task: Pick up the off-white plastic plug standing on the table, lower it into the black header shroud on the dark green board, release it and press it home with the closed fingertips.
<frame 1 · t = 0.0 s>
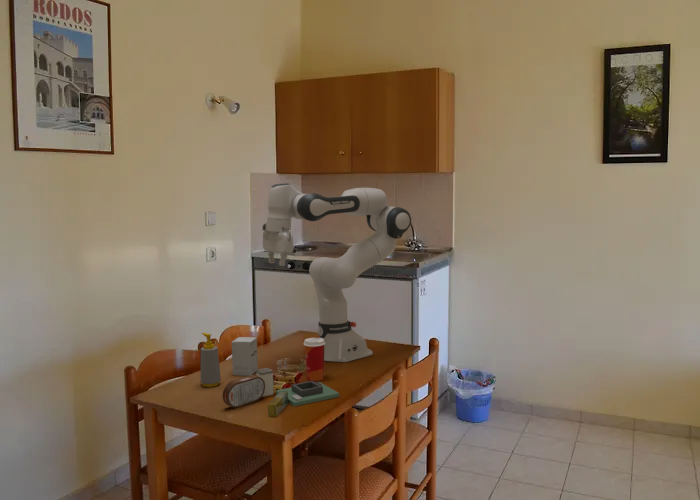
hand: (276, 264, 237), 39 cm above the table, tool pointing down, fingers open, 8 cm apart
plug: (265, 393, 211), on the table
tin: (245, 404, 202), on the table
medication box: (278, 410, 196), on the table
soap bottle: (210, 385, 222), on the table
paper cup: (315, 379, 225), on the table
board: (307, 395, 208), on the table
supplement box: (245, 373, 235), on the table
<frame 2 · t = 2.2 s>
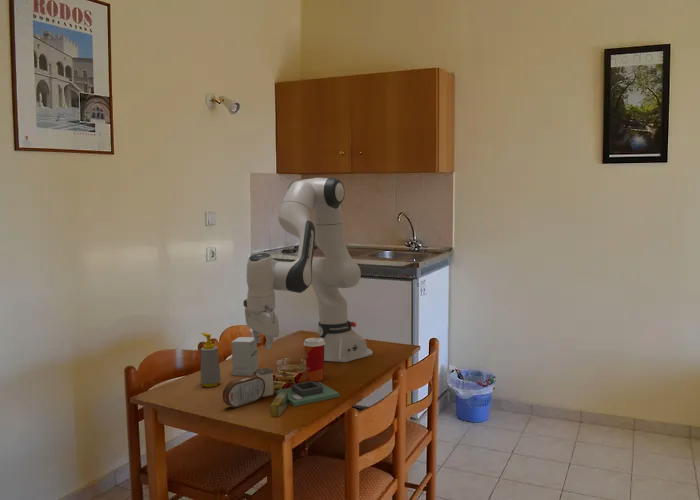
hand: (262, 345, 209), 16 cm above the table, tool pointing down, fingers open, 8 cm apart
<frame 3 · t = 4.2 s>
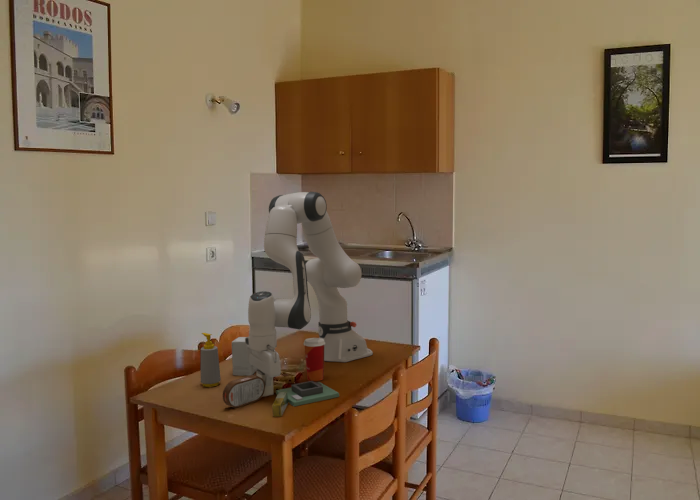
hand: (264, 383, 210), 4 cm above the table, tool pointing down, fingers closed on plug, 4 cm apart
plug: (265, 393, 211), on the table, touching gripper
everything else where it was.
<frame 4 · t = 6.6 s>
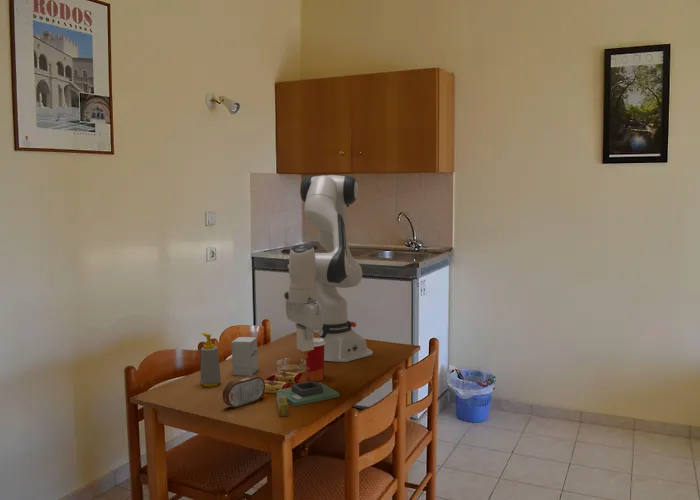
hand: (304, 338, 206), 19 cm above the table, tool pointing down, fingers closed on plug, 4 cm apart
plug: (305, 349, 207), point 15 cm above the table, touching gripper
when the fingers open (5 cm above the table, at t = 8.7 s): plug stays where it is, resting on board.
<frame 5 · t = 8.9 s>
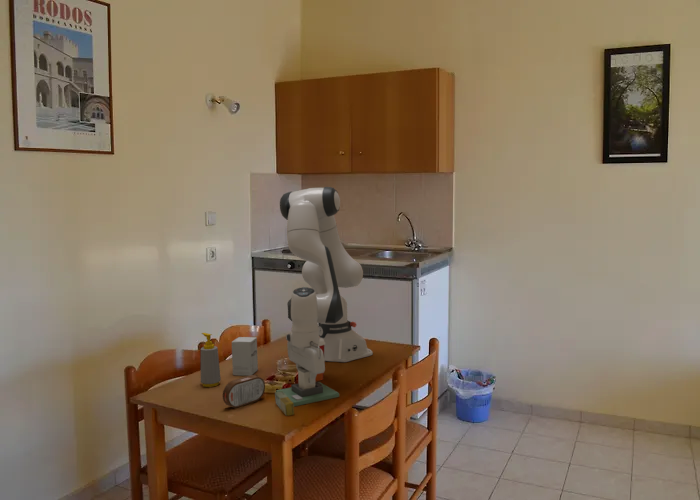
hand: (306, 380, 208), 5 cm above the table, tool pointing down, fingers open, 6 cm apart
plug: (307, 391, 208), point 1 cm above the table, touching board
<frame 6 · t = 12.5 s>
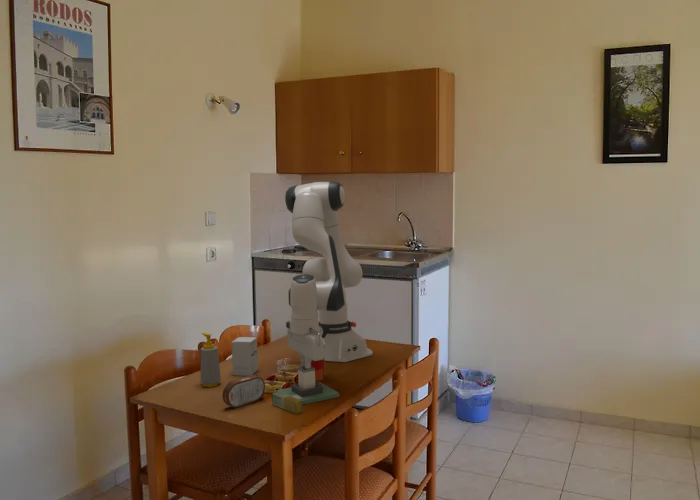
hand: (306, 367, 207), 9 cm above the table, tool pointing down, fingers closed, pressing on plug
plug: (307, 391, 208), point 1 cm above the table, touching board, gripper
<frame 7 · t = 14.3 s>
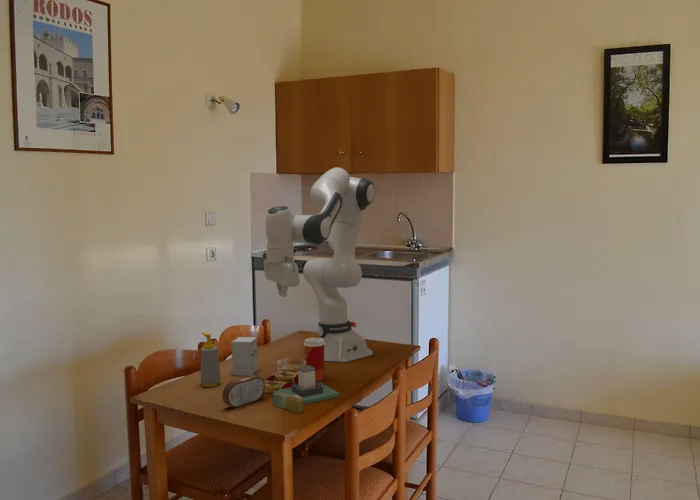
hand: (282, 296, 216), 31 cm above the table, tool pointing down, fingers closed
plug: (307, 391, 208), point 1 cm above the table, touching board
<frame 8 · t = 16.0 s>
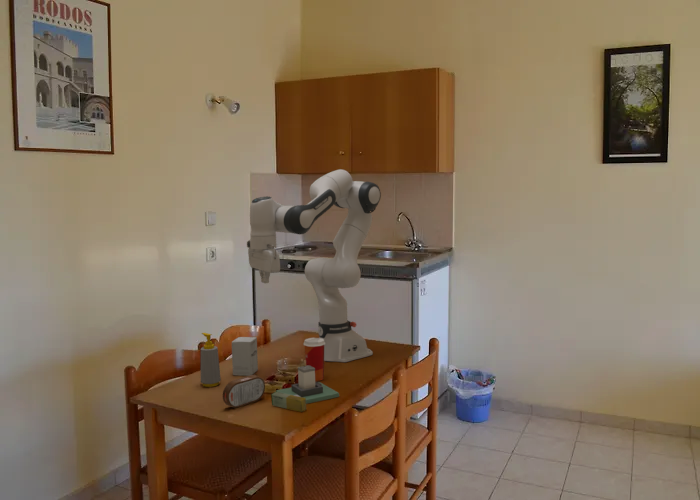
hand: (265, 282, 225), 34 cm above the table, tool pointing down, fingers closed
at the end: plug 0.1 cm off-centre on the board, point 1.2 cm above the board's base; plug tilted 0°; the gripper is holding nothing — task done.
